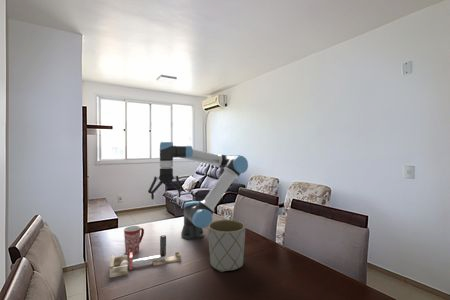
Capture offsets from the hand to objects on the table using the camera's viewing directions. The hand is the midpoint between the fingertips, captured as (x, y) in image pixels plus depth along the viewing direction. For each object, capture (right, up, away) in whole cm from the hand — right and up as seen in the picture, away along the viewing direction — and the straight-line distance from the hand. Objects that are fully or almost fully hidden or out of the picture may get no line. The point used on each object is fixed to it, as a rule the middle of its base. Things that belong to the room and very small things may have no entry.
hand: (166, 203), depth 136 cm
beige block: (-17, -27, -24) cm, 40 cm away
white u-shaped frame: (-5, -26, -18) cm, 32 cm away
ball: (-15, -25, -23) cm, 37 cm away
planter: (+36, -27, -17) cm, 48 cm away
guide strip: (+4, -27, -15) cm, 31 cm away
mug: (-18, -27, -2) cm, 32 cm away
